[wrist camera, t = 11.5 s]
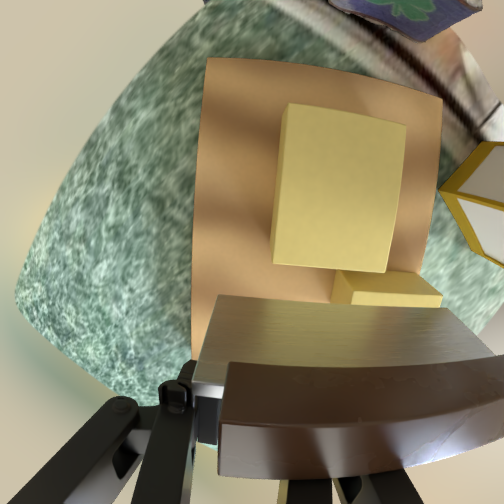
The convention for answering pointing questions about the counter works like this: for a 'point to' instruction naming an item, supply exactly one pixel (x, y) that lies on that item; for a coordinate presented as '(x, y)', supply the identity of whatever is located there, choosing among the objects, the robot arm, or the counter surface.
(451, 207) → the soap bottle
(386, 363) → the dough scraper
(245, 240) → the butter board
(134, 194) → the counter surface
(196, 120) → the counter surface
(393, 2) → the flask
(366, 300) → the butter pat
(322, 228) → the butter block
